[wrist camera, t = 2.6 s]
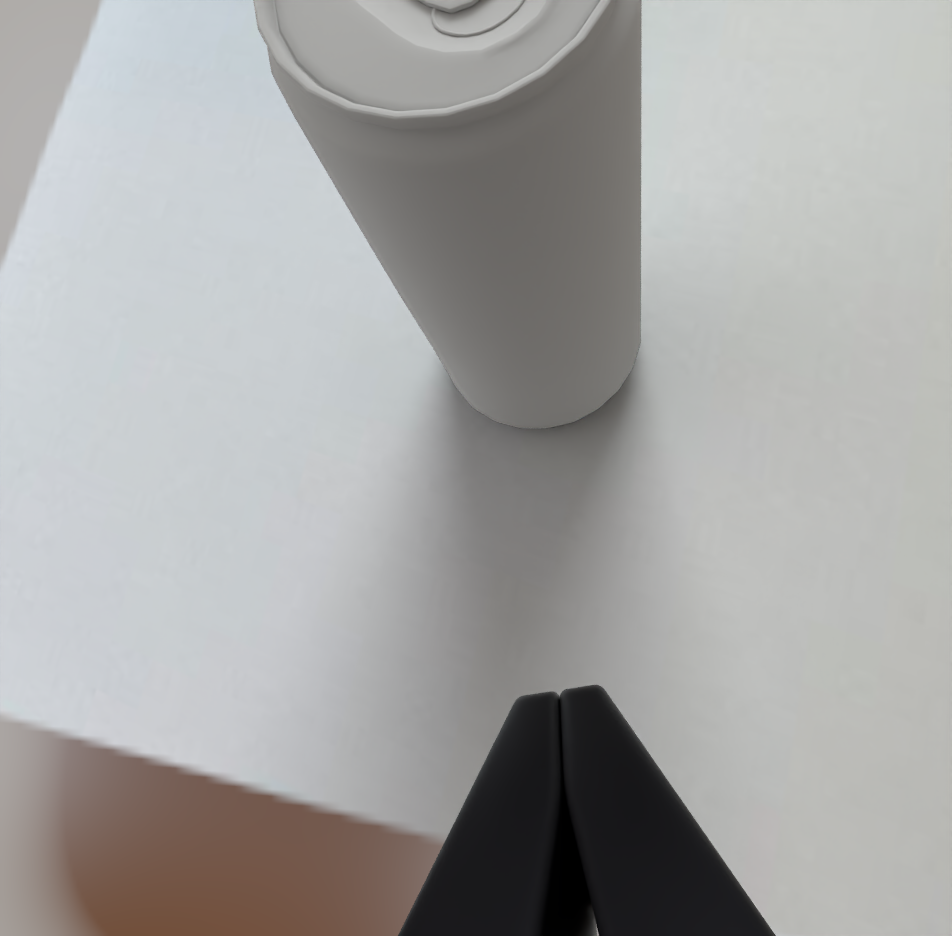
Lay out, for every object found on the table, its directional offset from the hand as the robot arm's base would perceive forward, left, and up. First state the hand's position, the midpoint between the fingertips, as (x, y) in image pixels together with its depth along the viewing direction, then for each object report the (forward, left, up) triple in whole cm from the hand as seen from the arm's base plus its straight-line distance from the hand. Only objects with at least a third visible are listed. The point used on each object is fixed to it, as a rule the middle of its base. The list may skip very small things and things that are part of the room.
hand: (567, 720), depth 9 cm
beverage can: (+9, +2, -11) cm, 14 cm away
